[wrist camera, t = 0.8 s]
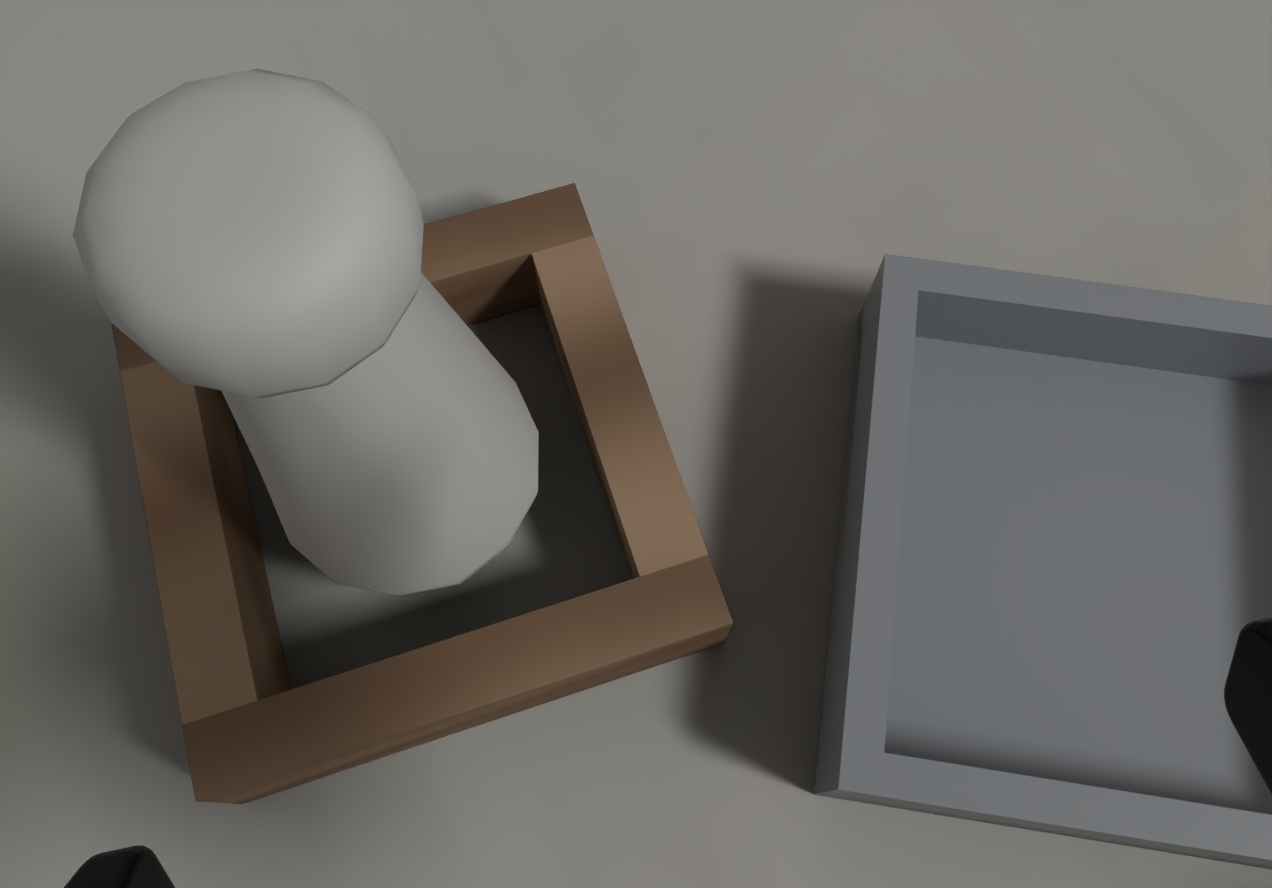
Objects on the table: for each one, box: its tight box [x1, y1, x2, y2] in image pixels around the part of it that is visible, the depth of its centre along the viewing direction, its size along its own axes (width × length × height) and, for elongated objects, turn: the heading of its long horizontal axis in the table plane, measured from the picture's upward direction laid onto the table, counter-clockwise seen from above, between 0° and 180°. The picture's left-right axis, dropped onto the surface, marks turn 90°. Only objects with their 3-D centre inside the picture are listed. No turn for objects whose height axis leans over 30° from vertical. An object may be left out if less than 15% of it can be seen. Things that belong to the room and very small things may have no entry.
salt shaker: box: [73, 69, 539, 596], centre depth 19 cm, size 6×6×13 cm
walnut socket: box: [112, 183, 733, 804], centre depth 24 cm, size 11×11×2 cm
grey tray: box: [814, 254, 1272, 869], centre depth 23 cm, size 12×12×3 cm
